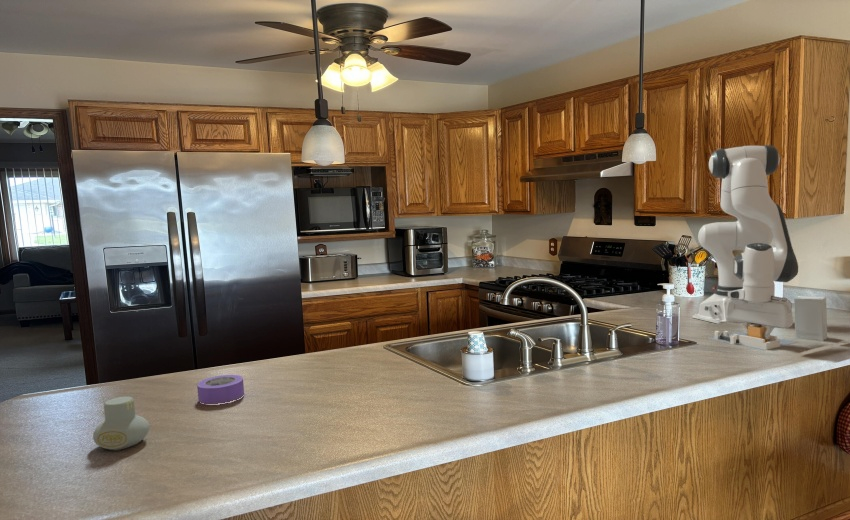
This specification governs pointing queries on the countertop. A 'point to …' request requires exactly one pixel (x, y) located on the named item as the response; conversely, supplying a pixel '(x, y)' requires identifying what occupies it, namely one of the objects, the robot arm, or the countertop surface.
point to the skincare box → (810, 317)
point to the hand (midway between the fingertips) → (757, 337)
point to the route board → (749, 340)
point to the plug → (757, 331)
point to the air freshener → (120, 425)
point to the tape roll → (220, 389)
